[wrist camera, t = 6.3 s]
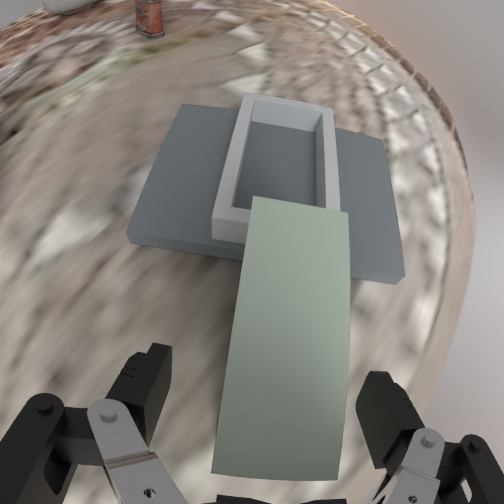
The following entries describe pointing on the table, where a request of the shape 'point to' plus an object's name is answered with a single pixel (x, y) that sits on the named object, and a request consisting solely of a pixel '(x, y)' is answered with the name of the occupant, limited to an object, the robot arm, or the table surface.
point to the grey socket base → (267, 181)
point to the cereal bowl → (66, 6)
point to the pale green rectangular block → (288, 347)
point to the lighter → (149, 18)
